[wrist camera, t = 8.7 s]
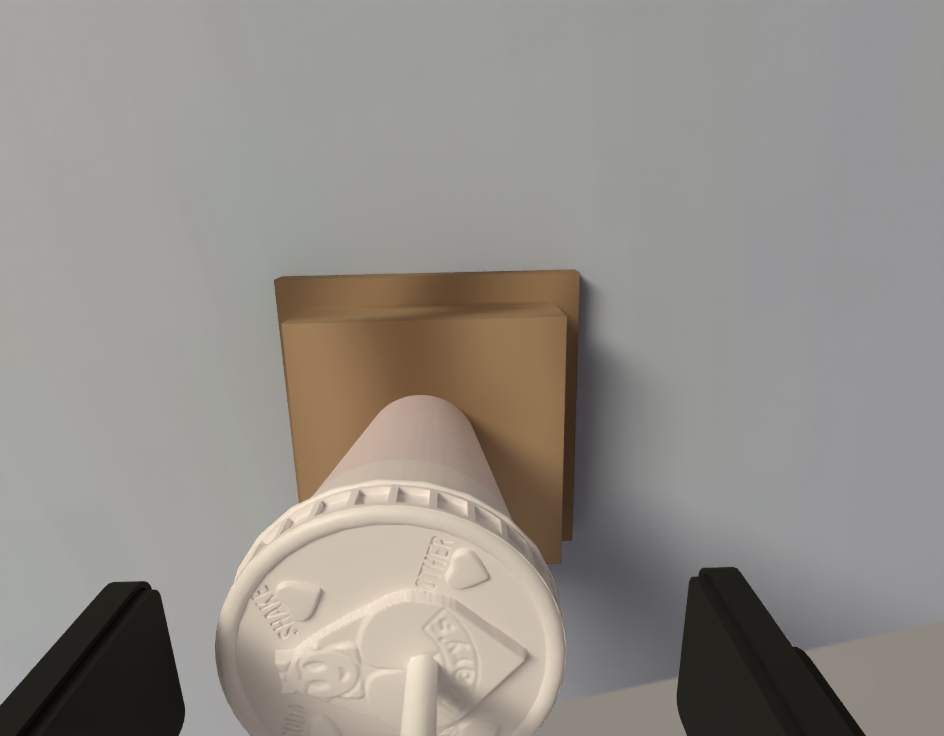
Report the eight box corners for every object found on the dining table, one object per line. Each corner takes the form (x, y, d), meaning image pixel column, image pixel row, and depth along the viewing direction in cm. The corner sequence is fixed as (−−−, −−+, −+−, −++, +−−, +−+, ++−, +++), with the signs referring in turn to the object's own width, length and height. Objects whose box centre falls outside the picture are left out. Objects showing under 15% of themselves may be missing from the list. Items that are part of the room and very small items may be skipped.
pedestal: (574, 269, 22) (599, 284, 18) (567, 527, 25) (587, 586, 22) (281, 276, 22) (245, 293, 18) (310, 535, 25) (283, 597, 21)
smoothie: (520, 524, 21) (643, 1126, 7) (338, 538, 21) (120, 1170, 7) (511, 347, 19) (651, 708, 5) (312, 362, 19) (-41, 762, 5)
